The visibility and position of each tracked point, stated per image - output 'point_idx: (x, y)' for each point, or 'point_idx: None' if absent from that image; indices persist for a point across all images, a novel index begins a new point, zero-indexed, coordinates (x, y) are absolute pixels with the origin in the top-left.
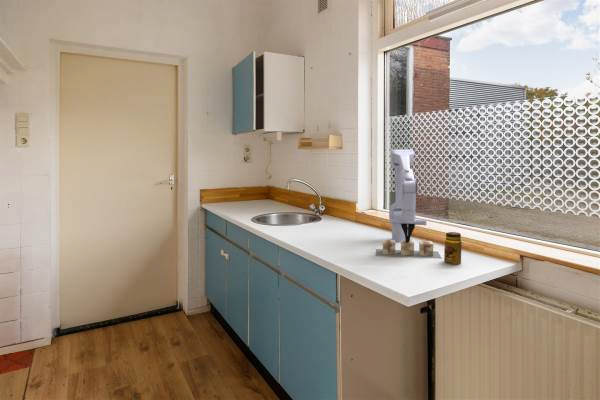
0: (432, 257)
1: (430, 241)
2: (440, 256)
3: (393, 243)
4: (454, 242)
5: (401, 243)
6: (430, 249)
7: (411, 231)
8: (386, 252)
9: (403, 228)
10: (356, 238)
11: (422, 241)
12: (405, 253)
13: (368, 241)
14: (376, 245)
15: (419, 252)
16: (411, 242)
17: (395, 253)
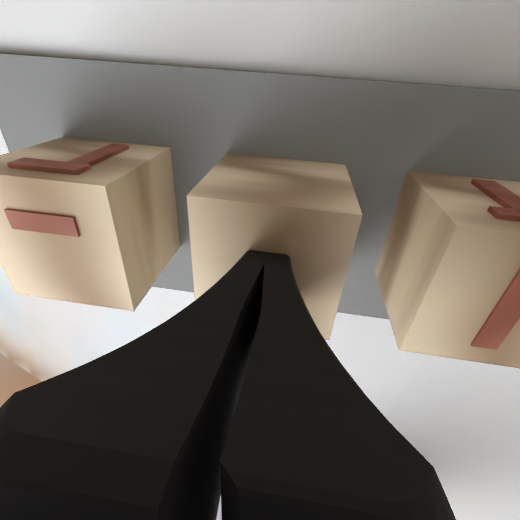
0: (58, 83)
1: (25, 289)
2: (3, 129)
3: (482, 224)
4: None
5: (352, 241)
6: (39, 154)
7: (154, 342)
8: (511, 185)
9: (386, 446)
10: (496, 514)
11: (100, 291)
12: (306, 164)
13: (452, 475)
14: (439, 418)
15: (173, 221)
16: (219, 250)
17: (388, 214)
